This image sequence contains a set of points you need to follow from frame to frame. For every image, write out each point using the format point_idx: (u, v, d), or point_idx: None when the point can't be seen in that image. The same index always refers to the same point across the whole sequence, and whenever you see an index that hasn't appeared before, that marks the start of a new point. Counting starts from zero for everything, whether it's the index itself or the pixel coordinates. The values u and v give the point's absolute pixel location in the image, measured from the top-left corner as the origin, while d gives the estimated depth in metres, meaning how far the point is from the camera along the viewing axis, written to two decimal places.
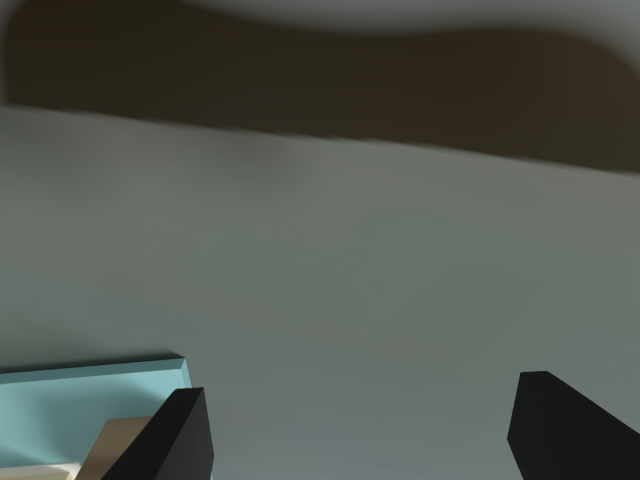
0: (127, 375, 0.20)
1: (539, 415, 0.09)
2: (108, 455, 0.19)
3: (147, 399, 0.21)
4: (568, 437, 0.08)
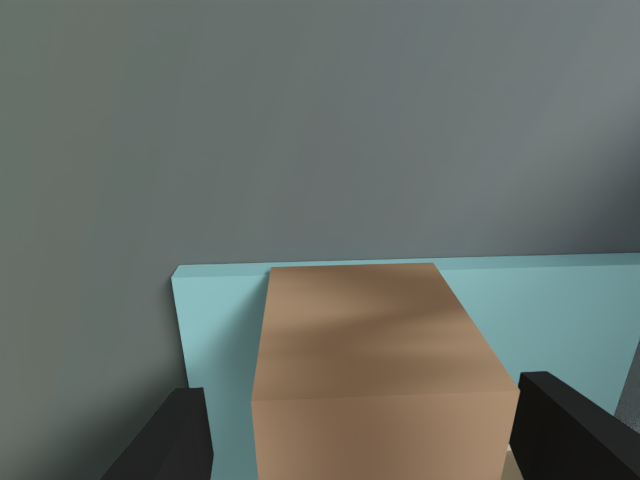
0: (190, 354, 0.13)
1: (539, 415, 0.09)
2: None
3: (239, 335, 0.12)
4: (568, 437, 0.08)
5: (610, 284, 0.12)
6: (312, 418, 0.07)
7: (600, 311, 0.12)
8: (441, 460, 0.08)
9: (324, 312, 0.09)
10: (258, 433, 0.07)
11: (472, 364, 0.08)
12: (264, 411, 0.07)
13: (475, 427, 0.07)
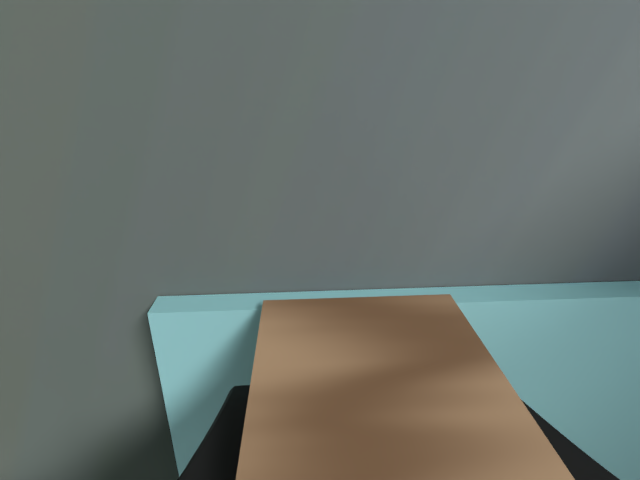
0: (171, 397, 0.11)
1: None
2: None
3: (227, 377, 0.11)
4: None
5: None
6: None
7: (639, 347, 0.11)
8: None
9: (325, 363, 0.08)
10: None
11: (512, 442, 0.06)
12: None
13: None
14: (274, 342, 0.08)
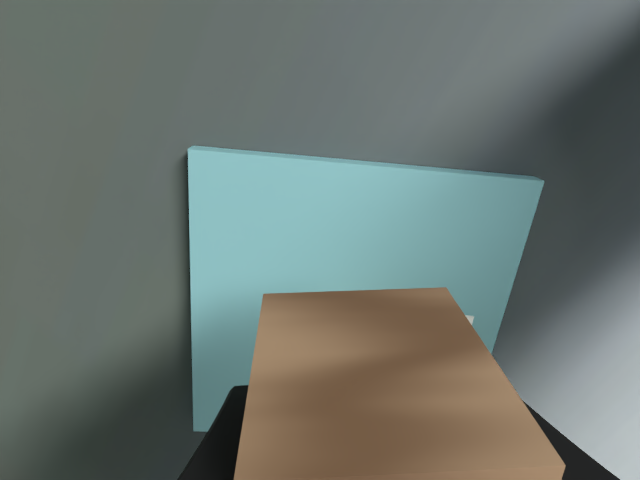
0: (193, 215, 0.17)
1: None
2: None
3: (232, 203, 0.16)
4: None
5: (505, 193, 0.17)
6: None
7: (498, 214, 0.17)
8: None
9: (324, 353, 0.08)
10: None
11: (503, 426, 0.06)
12: None
13: None
14: (274, 333, 0.09)
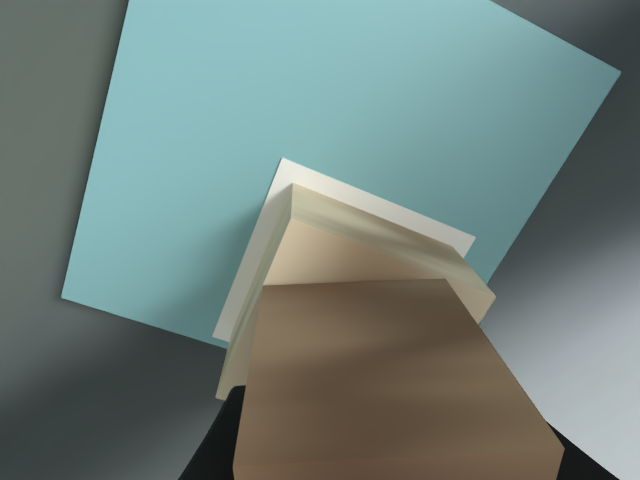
0: None
1: None
2: None
3: None
4: None
5: (571, 72, 0.13)
6: None
7: (552, 100, 0.13)
8: None
9: (323, 342, 0.08)
10: None
11: (502, 411, 0.06)
12: (249, 477, 0.06)
13: None
14: (273, 323, 0.09)
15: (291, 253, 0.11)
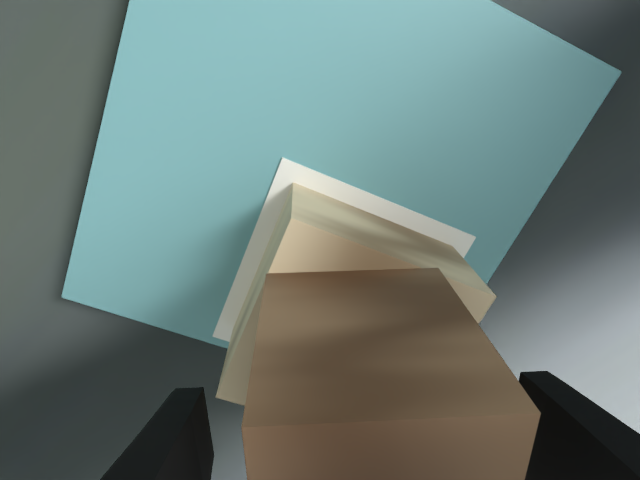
0: None
1: None
2: None
3: None
4: (568, 437, 0.08)
5: (571, 71, 0.13)
6: (310, 444, 0.06)
7: (552, 100, 0.13)
8: None
9: (323, 323, 0.09)
10: (250, 462, 0.06)
11: (486, 382, 0.07)
12: (256, 438, 0.06)
13: (490, 453, 0.07)
14: (276, 307, 0.09)
15: (291, 252, 0.11)
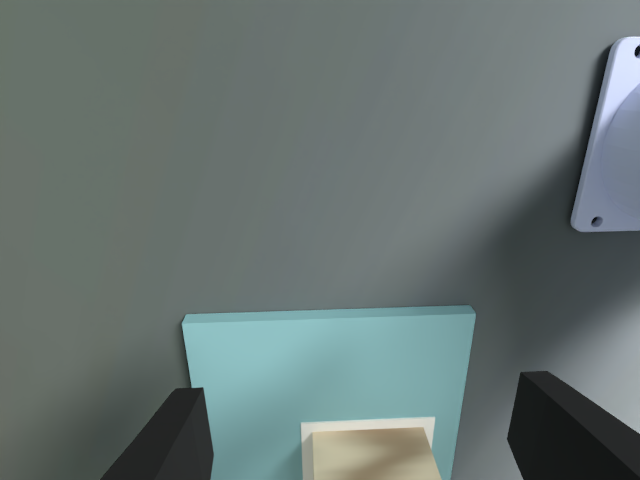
0: (192, 367, 0.21)
1: (539, 415, 0.09)
2: None
3: (222, 356, 0.20)
4: (568, 437, 0.08)
5: (445, 325, 0.20)
6: None
7: (441, 341, 0.21)
8: None
9: None
10: None
11: None
12: None
13: None
14: None
15: None
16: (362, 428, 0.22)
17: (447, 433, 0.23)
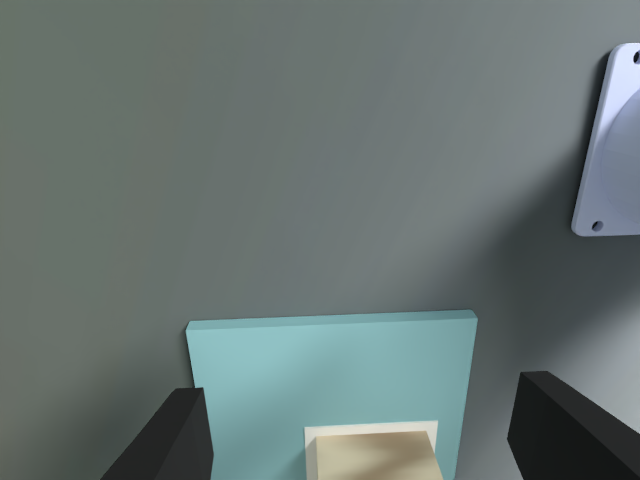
0: (196, 374, 0.21)
1: (539, 415, 0.09)
2: None
3: (226, 362, 0.21)
4: (568, 437, 0.08)
5: (447, 330, 0.20)
6: None
7: (444, 345, 0.21)
8: None
9: None
10: None
11: None
12: None
13: None
14: None
15: None
16: (365, 432, 0.23)
17: (450, 436, 0.23)
